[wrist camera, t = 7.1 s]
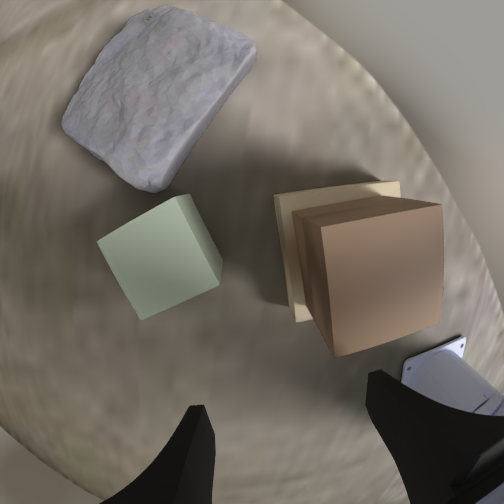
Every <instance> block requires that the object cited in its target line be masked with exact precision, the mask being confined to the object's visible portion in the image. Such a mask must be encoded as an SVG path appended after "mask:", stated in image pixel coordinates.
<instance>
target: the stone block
mask: <svg viewBox="0 0 504 504" xmlns="http://www.w3.org/2000/svg"><path fill="white" fill-rule="evenodd" d="M256 55H257V49H256V45H255V43H254V42H253V41H252V40H251V39H250V38H249V37H247V36H246V35H244V34H243V33H239V32H236V31H234V30H232V29H231V28H228V27H225V26H221V25H219V24H217V23H215V22H213V21H210V20H208V19H206V18H204V17H201V16H198V15H196V14H194V13H193V12H189V11H186V10H182V9H179V8H175V7H169V6H159V7H157V8H155V9H154V10H149V9H148V10H145V11H143V12H141V13H139V14H137V15H135V16H133V17H132V18H131V19H130V20H129V21H128V22H127V24H126V26H125V27H124V29H123V30H122V31H121V32H120V33H119V34H117V35H116V36H114V37H113V38H112V39H111V40H110V41H109V42H108V43H107V45H106V46H105V47H104V48H103V50H102V51H101V52H100V54H99V56H98V57H97V59H96V61H95V64H94V65H93V66H92V67H91V68H90V70H89V71H88V72H87V73H86V75H85V77H84V79H83V80H82V82H81V84H80V86H79V89H78V91H77V93H76V94H75V95H73V97H72V99H71V101H70V103H69V105H68V107H67V109H66V111H65V114H64V116H63V118H62V122H61V124H62V126H63V130H64V132H65V133H66V134H67V135H69V136H70V137H71V138H72V139H73V140H74V141H75V142H76V143H78V144H80V145H81V146H83V147H84V148H86V149H87V150H89V151H90V152H91V153H92V155H94V156H96V157H97V158H98V159H99V160H103V161H104V162H105V163H106V164H108V165H109V166H110V167H111V168H112V169H113V170H114V172H115V173H116V174H117V175H118V176H119V177H121V178H122V179H123V180H125V181H126V182H128V183H129V184H131V185H132V186H133V187H135V188H136V189H138V190H144V191H148V192H151V193H157V192H159V191H163V190H165V189H167V188H168V186H169V185H170V184H171V182H172V180H173V178H174V177H175V176H176V174H177V172H178V171H179V169H180V167H181V166H182V164H183V162H184V161H185V159H186V158H187V156H188V155H189V153H190V152H191V150H192V149H193V147H194V146H195V144H196V142H197V141H198V139H199V138H200V137H201V135H202V134H203V132H204V131H205V130H206V128H207V127H208V125H209V124H210V122H211V121H212V120H213V118H214V117H215V115H216V114H217V113H218V111H219V110H220V108H221V107H222V105H223V104H224V103H225V101H226V100H227V99H228V97H229V96H230V94H231V93H232V92H233V91H234V89H235V88H236V87H237V86H238V85H239V83H240V82H241V81H242V79H243V78H244V77H245V76H246V74H247V73H248V72H249V71H250V69H251V67H252V66H253V64H254V62H255V61H256Z"/></svg>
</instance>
